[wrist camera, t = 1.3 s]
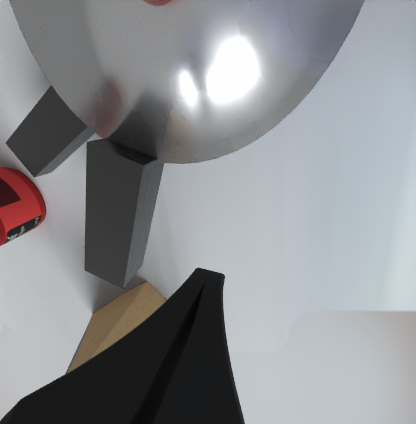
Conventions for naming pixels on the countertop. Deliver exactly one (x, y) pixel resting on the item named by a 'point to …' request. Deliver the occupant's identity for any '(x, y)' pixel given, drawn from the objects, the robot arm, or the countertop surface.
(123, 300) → the sandwich container
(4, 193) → the canned food
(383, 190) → the countertop surface
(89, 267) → the cooker lid
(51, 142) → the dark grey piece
